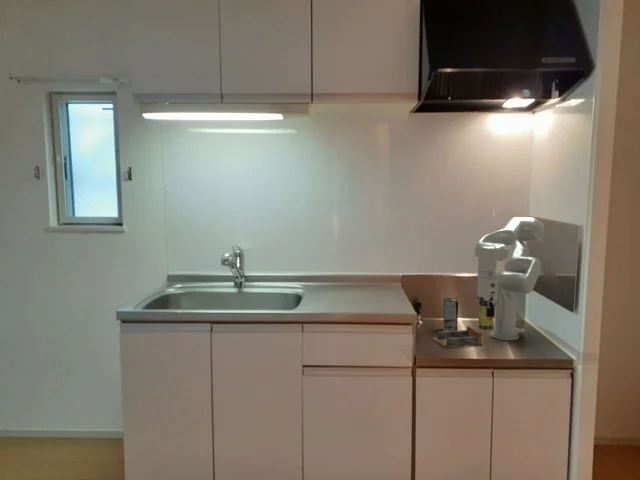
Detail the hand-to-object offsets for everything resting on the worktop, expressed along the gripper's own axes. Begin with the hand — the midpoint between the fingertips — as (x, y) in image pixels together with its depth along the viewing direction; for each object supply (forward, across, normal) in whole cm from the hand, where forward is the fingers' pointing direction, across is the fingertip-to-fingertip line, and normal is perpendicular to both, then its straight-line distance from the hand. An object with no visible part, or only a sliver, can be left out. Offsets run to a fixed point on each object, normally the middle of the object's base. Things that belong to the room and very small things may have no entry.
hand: (486, 313), depth 208 cm
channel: (+15, +9, +9) cm, 20 cm away
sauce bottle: (+7, 0, 0) cm, 7 cm away
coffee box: (+16, +25, +5) cm, 30 cm away
